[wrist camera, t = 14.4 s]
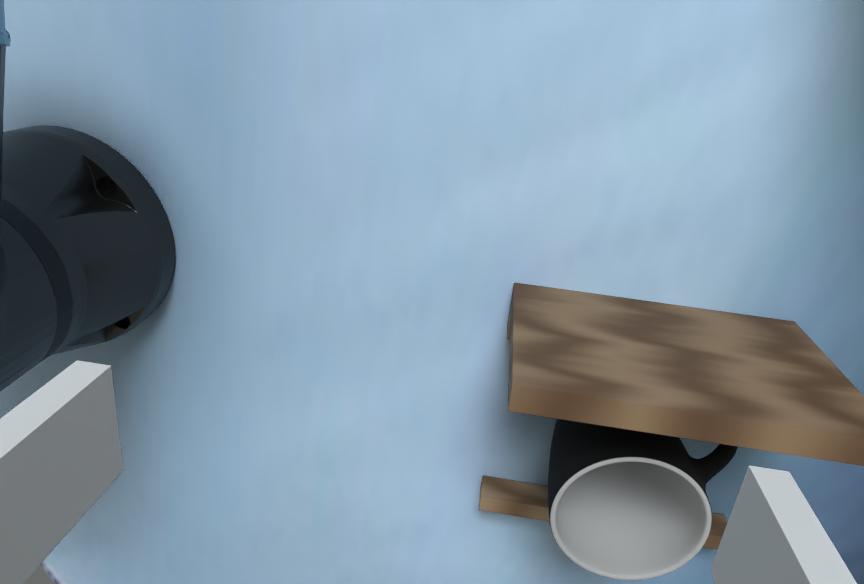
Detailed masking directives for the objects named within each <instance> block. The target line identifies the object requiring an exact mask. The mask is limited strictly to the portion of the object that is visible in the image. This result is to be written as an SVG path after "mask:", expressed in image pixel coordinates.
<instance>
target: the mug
mask: <svg viewBox="0 0 864 584" xmlns="http://www.w3.org/2000/svg"><path fill="white" fill-rule="evenodd" d="M737 447H738V446H731V445H725V444H719V446H718V447H717V448H716V449H715V450H714V451H713V452H712V453H710V454H709V455H707V456H706V457H704V458H701V459H694V458H692V457H690V456H689V454H688V453H687V451H686V449H685V447H684V445H683V444H682V442H681V440H680V438H679V437H673V436H667V435H660V434H654V433H647V432H641V431H634V430H628V429H621V428H615V427H608V426H602V425H595V424H589V423H583V422H576V421H570V420H563V419H557V422H556V425H555V429H554V433H553V438H552V444H551V451H550V461H549V476H548V510H549V520H550V526H551V530H552V533H553V536H554V539H555V541H556V543H557V544H558V546H559V547H560V549H561V550H562V551H563V552H564V554H565V555H566V556H567V557H568V558H569V559H571V560H572V561H573V562H574V563H576V564H577V565H579V566H580V567H582V568H584V569H586V570H588V571H590V572H592V573H595V574H597V575H600V576H603V577H608V578H612V579H619V580H642V579H649V578H654V577H658V576H662V575H664V574H667V573H670V572H672V571H674V570H676V569H678V568H680V567H681V566H683V565H684V564H686V563H687V562H688V561H690V560H691V559H692V558H693V557H694V556H695V555H696V554H697V553H698V552H699V551H700V550H701V548H702V547H703V545H704V544H705V542H706V540H707V538H708V535H709V533H710V529H711V523H712V514H711V507H710V503H709V500H708V497H707V494H706V490H705V486H706V483H707V482H708V481H709V480H710V479H711V478H712V477H713V476H715V475H716V474H717V473H718V472H720V471H721V470H722V469H723V468H724V467H725V466H726V465H727V464H728V463H729V462H730V460H731V459H732V458H733V456H734V454H735V453H736V450H737Z"/></svg>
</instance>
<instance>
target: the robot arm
mask: <svg viewBox="0 0 864 584" xmlns="http://www.w3.org/2000/svg"><path fill="white" fill-rule="evenodd" d="M6 46H10V34H9V33H8V32H7V31H6V29H5V15H4V0H0V391H1V390H3V389H4V388H6V387H7V386H8V385H10V384H11V383H12V382H14V381H15V380H16V379H18V378H19V377H21V376H22V375H23V374H25V373H26V372H27V371H29V370H30V369H32V368H33V367H34V366H36V365H37V364H38V363H40V362H41V361H43V360H44V359H45V358H47V357H48V356H50V355H53V354H57V353H61V352H66V351H70V350H74V349H78V348H82V347H86V346H90V345H94V344H98V343H102V342H106V341H109V340H112V339H115V338H117V337H119V336H121V335H123V334H125V333H126V332H128V331H130V330H131V329H133V328H134V327H135V326H137V325H138V324H139V323H140V322H142V321H143V320H144V319H145V318H147V317H148V316H149V315H150V314H152V313H153V312H154V311H155V310H156V308H157V307H158V306H159V305H160V304H161V302H162V301H163V299H164V297H165V296H166V294H167V292H168V289H169V287H170V284H171V281H172V277H173V272H174V265H175V249H174V240H173V235H172V231H171V227H170V224H169V221H168V218H167V215H166V213H165V210H164V208H163V206H162V204H161V202H160V200H159V198H158V197H157V195H156V193H155V192H154V190H153V189H152V187H151V186H150V184H149V183H148V182H147V180H146V179H145V178H144V177H143V175H142V174H141V173H140V172H139V171H138V170H137V169H136V168H135V167H134V166H133V165H132V164H131V163H130V162H129V161H128V160H127V159H126V158H125V157H123V156H122V155H121V154H120V153H118V152H117V151H116V150H114V149H113V148H111V147H110V146H108V145H107V144H105V143H103V142H101V141H100V140H98V139H96V138H94V137H92V136H90V135H87V134H85V133H82V132H79V131H76V130H73V129H69V128H64V127H58V126H32V127H26V128H21V129H17V130H12V131H7V132H3V106H4V79H5V52H6ZM122 471H123V461H122V453H121V444H120V436H119V428H118V419H117V411H116V402H115V394H114V385H113V377H112V368H111V366H110V365H104V364H97V363H91V362H85V361H78V360H77V361H75V362H74V363H73V364H71V365H70V366H69V367H67V368H66V369H65V370H63V371H62V372H61V373H60V374H58V375H57V376H56V377H54V378H53V379H52V380H50V381H49V382H48V383H46V384H45V385H44V386H42V387H41V388H40V389H38V390H37V391H36V392H35V393H33V394H32V395H31V396H29V397H28V398H27V399H25V400H24V401H23V402H21V403H20V404H19V405H17V406H16V407H15V408H13V409H12V410H11V411H10V412H8V413H7V414H6V415H4V416H3V417H2V418H0V584H23V583H24V582H25V581H26V580H27V579H28V577H29V576H30V575H31V574H32V573H33V572H34V571H35V569H36V568H37V567H38V566H39V565H40V564H41V563H42V562H43V561H44V559H45V558H46V557H47V556H48V555H49V554H50V553H51V552H52V550H53V549H54V548H55V547H56V546H57V545H58V544H59V543H60V541H61V540H62V539H63V538H64V537H65V536H66V535H67V533H68V532H69V531H70V530H71V529H72V528H73V527H74V526H75V524H76V523H77V522H78V521H79V520H80V519H81V518H82V517H83V515H84V514H85V513H86V512H87V511H88V510H89V509H90V508H91V506H92V505H93V504H94V503H95V502H96V501H97V500H98V499H99V497H100V496H101V495H102V494H103V493H104V492H105V491H106V489H107V488H108V487H109V486H110V485H111V484H112V483H113V482H114V480H115V479H116V478H117V477H118V476H119V475H120V474H121V473H122ZM710 570H711V573H712V576H713V579H714V582H715V584H857V583H856V581H855V580H854V578H853V577H852V575H851V573H850V572H849V570H848V568H847V567H846V565H845V563H844V562H843V560H842V558H841V557H840V555H839V553H838V552H837V550H836V548H835V547H834V545H833V543H832V542H831V540H830V539H829V537H828V535H827V534H826V532H825V530H824V529H823V527H822V525H821V524H820V522H819V520H818V519H817V517H816V515H815V514H814V512H813V510H812V509H811V507H810V505H809V504H808V502H807V500H806V499H805V497H804V496H803V494H802V492H801V491H800V489H799V487H798V486H797V484H796V482H795V481H794V479H793V477H792V476H791V474H790V472H788V471H781V470H775V469H768V468H762V467H756V466H748V469H747V471H746V474H745V477H744V480H743V482H742V485H741V488H740V490H739V493H738V496H737V499H736V501H735V504H734V507H733V509H732V512H731V515H730V518H729V520H728V523H727V526H726V528H725V531H724V534H723V536H722V539H721V542H720V545H719V547H718V550H717V553H716V555H715V558H714V561H713V564H712V566H711V569H710Z"/></svg>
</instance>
